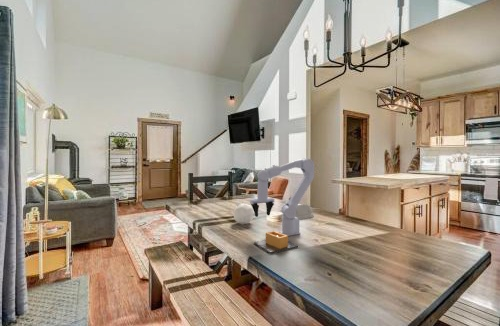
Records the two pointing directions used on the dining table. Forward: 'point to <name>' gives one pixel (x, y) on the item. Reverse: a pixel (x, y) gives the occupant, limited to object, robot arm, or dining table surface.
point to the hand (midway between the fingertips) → (262, 215)
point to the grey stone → (303, 212)
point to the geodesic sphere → (243, 213)
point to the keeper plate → (272, 249)
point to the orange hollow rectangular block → (277, 239)
